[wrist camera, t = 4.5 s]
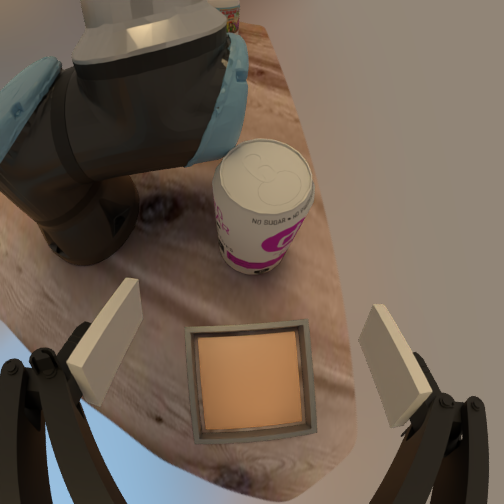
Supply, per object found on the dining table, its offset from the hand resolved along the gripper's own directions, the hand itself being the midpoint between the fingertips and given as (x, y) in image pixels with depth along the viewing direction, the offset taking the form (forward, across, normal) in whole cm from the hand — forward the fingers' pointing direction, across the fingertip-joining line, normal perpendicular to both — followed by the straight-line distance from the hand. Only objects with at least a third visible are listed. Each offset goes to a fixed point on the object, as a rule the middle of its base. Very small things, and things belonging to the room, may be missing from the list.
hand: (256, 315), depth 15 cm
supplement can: (+20, 0, -4) cm, 20 cm away
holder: (+8, +1, -16) cm, 18 cm away
